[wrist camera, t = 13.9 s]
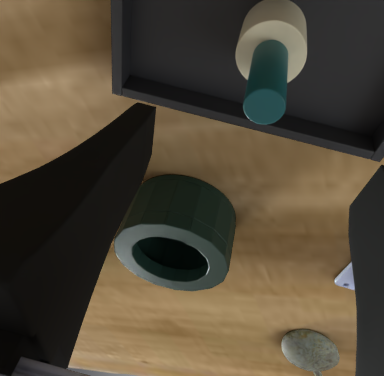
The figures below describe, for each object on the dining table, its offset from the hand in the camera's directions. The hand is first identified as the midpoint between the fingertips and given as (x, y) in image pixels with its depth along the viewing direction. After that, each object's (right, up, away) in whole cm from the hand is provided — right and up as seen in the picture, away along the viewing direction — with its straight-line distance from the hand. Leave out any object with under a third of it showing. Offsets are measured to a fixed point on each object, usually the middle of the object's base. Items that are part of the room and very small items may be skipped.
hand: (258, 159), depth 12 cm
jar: (-3, -3, +19) cm, 20 cm away
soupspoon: (+15, -25, +37) cm, 47 cm away
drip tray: (+2, +7, +7) cm, 10 cm away
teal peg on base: (+2, +7, +7) cm, 10 cm away
